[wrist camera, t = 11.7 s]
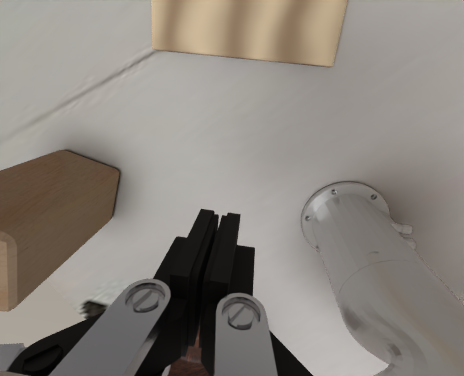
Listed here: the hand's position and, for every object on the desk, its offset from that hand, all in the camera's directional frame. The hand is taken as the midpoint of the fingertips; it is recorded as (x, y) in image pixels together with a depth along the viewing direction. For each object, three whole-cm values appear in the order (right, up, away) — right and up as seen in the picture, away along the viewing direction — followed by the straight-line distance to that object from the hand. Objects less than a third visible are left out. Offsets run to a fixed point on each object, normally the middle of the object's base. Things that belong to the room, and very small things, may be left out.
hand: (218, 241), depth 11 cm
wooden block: (-23, +3, +31) cm, 39 cm away
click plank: (+2, +23, +19) cm, 30 cm away
